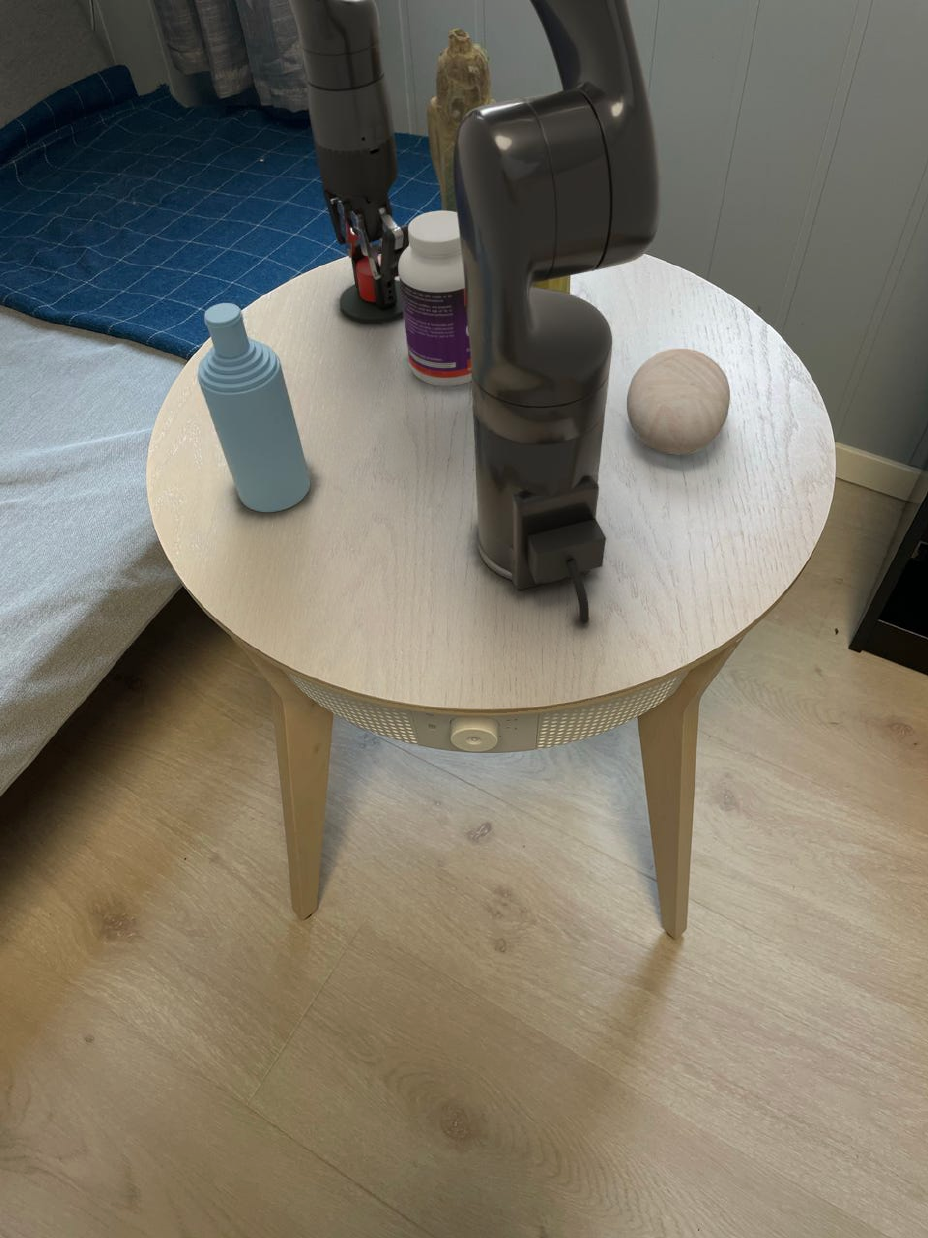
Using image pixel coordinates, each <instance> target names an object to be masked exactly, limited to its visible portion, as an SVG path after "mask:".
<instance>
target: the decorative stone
mask: <svg viewBox="0 0 928 1238" xmlns="http://www.w3.org/2000/svg"><path fill="white" fill-rule="evenodd" d="M730 391H731V390H730V384H729V380H728V378H727V375H726V373H725V371H724V370H723V369H722V367H721V366H720V364H718V362H717V361H716V360H714V359H713V358H712V357H710V356H708V355H707V354H705V353H703V352H701V351H698V350H694V349H689V348H673V349H667V350H664V351H660V352H658V353H657V354H655V355H653V356H651V357H650V358H648V359H647V360H645V361H644V362H643V363H642V364H641V365H640V367H639V368H638V369H637V370H636V372H635V374H634V375H633V377H632V379H631V382H630V384H629V387H628V391H627V396H626V413H627V417H628V421H629V423H630V426H631V428H632V430H633V431H634V433H635V434H636V435H637V437H638V438H639V440H641V441H642V442H643V443H644V444H646V445H647V446H649V447H650V448H651V449H654V450H656V451H658V452H661V453H664V454H668V455H688V454H693V453H696V452H698V451H700V450H702V449H704V448H706V447H708V446H709V445H710V444H711V443H712V442H714V441H715V440H716V438H717V437H718V436H719V435H720V433H721V431H722V430H723V428H724V425H725V423H726V420H727V417H728V414H729V410H730V401H731V392H730Z"/></svg>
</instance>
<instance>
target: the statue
mask: <svg viewBox="0 0 928 1238" xmlns="http://www.w3.org/2000/svg"><path fill="white" fill-rule="evenodd" d="M447 37H448V46H447V47H446V48H445V49H444V50H442V51H441V52H440V53H439V57H438V60H437V65H436V75H435V87H436V88H435V89H436V90H435V91H436V93H435V96H434V97H432V98H431V100H430V101H429V104H428V105H427V109H426V117H427V118H426V120H427V132H428V141H429V143H428V144H429V153H430V157H431V162H432V166H433V170H434V174H435V176H436V177H435V178H436V181H437V183H438V185H439V189H438V191H439V194H440V197H441V211H453V212H457V209H456V200H455V187H454V148H455V139H456V135H457V132H458V128H459V125H460V123H461V121H462V119H463V118H464V116H465V115H466V114H467V113H468V112H469V111H471V110H472V109H474V108H476V107H479V106H482V105H487V104H491V103H496V102H497V101H496V100H495V99H493V98H492V97H491V96H492V90H491V73H490V72H491V71H490V69H489V61H490V54H489V51H488V50H487V49H486V48H485V46H484V44H483V43H473V41H472V38H471V36H470V35H469V33H468V32H467V31H466V30H463V27H459V28H454V29H452V30H449V31H448V33H447Z"/></svg>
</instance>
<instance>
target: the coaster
mask: <svg viewBox="0 0 928 1238" xmlns="http://www.w3.org/2000/svg"><path fill="white" fill-rule="evenodd" d="M395 286H396V294H397V303H396V305H395V306H392V307H390V308H387V309H385V310H381V309H379V308H378V307H377V305H376V302H369V301H366V300H364V299H363V298H362V297H361V296H360V293H359V290H358V289H357V288H356V287H355V283H354V284H352V285H350V286H349V287H348V288H346V289H345V290H344V291H343V292H342V294H341V296H340V299H339V306H340V310H341V312H342V314H343V315H344V316H345V317H346V318H347V319H349V320H351V321H353V322H356V323H360V324H365V325H379V324H386V323H389V322H392V321H395V320H398V319H400V318H402V317H404V314H403V305H402V297H401V288H400V280H397V279H395Z"/></svg>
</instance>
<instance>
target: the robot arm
mask: <svg viewBox="0 0 928 1238" xmlns="http://www.w3.org/2000/svg"><path fill="white" fill-rule="evenodd" d="M529 2H530V3H531V5H532V7H533V9H534V11H535V13H536V15H537V17H538V19H539V21H540V24H541V26H542V28H543V31H544V33H545V36H546V38H547V41H548V44H549V47H550V50H551V54H552V56H553V59H554V63H555V65H556V69H557V73H558V76H559V81H560V83H561V88H562V90H558V91H553V92H547V93H541V94H536V95H531V96H524V97H520V98H512V99H507V100H502V101H496V103H491V104H487V105H482V106H479V107H476V108H474V109H472V110H471V111H469V112H468V113H467V114H466V115H465V116H464V118H463V119H462V121H461V123H460V125H459V128H458V132H457V135H456V139H455V148H454V187H455V200H456V209H457V218H458V226H459V235H460V243H461V252H462V262H463V273H464V286H465V302H466V315H467V324H468V333H469V344H470V359H471V380H472V381H471V397H472V399H471V400H472V424H473V443H474V444H473V446H474V465H475V485H476V487H475V489H476V509H477V524H478V525H477V526H478V528H477V546H478V551H479V554H480V556H481V558H482V560H483V561H484V562H485V564H486V565H487V566H488V567H489V568H490V569H491V570H492V571H494V572H495V574H498V575H499V576H502V577H503V578H505V579H508V580H510V581H511V582H512V583H513V584H514V587H515V588H516V590H519V591H523V590H525V589H531V588H534V587H537V586H541V585H546V584H550V583H555V582H559V581H561V580H565V579H569V578H570V579H571V581H572V584H573V587H574V592H575V594H576V598H577V602H578V609H579V622H580V623H581V624H587V623H588V622H589V621H590V617H589V614H590V613H589V611H590V610H589V600H588V595H587V591H586V587H585V585H584V581H583V579H582V576H581V575H584V574H588V573H589V572H590V571H591V570H595V569H599V568H603V565H604V558H605V550H606V549H605V547H606V540H607V537H606V535H605V533H604V532H603V530H602V528H601V526H600V524H599V522H598V521H597V519H596V518H597V510H598V501H599V490H600V485H599V474H600V466H601V465H600V464H601V457H602V448H603V447H602V446H603V437H604V428H605V427H604V426H605V418H606V409H607V401H608V391H609V382H610V372H611V364H612V354H613V333H612V331H611V330H612V329H611V326H610V323H609V321H608V320H607V318H606V316H605V315H604V314H603V313H602V312H601V311H600V310H599V309H598V308H597V307H595V306H594V305H593V304H592V303H590V302H588V301H587V300H585V299H583V298H581V297H579V296H577V295H574V294H571V293H570V294H568V293H565V292H561V291H557V290H552V289H546V288H541V287H536V286H532V284H533V283H536V282H541V281H546V280H550V279H555V278H560V277H565V276H570V275H571V276H574V275H580V274H584V273H589V272H593V271H596V270H602V269H607V268H612V267H616V266H620V265H624V264H628V263H631V262H633V261H636V260H638V259H640V258H641V257H643V255H645V254H646V253H647V251H649V249H650V247H651V245H652V243H653V242H654V239H655V237H656V234H657V232H658V227H659V223H660V215H661V206H662V205H661V204H662V176H661V165H660V157H659V146H658V139H657V133H656V127H655V123H654V122H655V121H654V118H653V117H654V116H653V112H652V106H651V102H650V96H649V92H648V87H647V82H646V78H645V73H644V68H643V64H642V59H641V55H640V51H639V46H638V41H637V35H636V32H635V27H634V22H633V18H632V13H631V9H630V6H629V5H630V4H629V0H529ZM287 3H288V5H289V8H290V11H291V15H292V17H293V20H294V23H295V27H296V30H297V35H298V41H299V47H300V52H301V58H302V62H303V63H302V64H303V69H304V76H305V80H306V93H307V108H308V115H309V121H310V126H311V130H312V137H313V143H314V149H315V154H316V160H317V166H318V172H319V177H320V182H321V184H322V186H321V191H322V193H323V198H324V201H325V204H326V207H327V210H328V211H327V212H328V215H329V216H330V220H331V224H332V227H333V230H334V234H335V237H336V240H337V243H338V245H340V246H343V245H345V253H346V255H347V257H348V258H350V262H351V269H352V275H353V280H354V281H353V282H354V284H355V287H356V288H357V289H358V290H359V286H358V279H357V273H356V264H357V263H358V262H359V261H360V260H361V259H363V258H365V257H368V259H369V263H370V267H371V271H372V275H373V277H372V278H373V285H374V292H375V299H376V305H377V307H378V308H379V309H381V310H385V309H387V308H390V307H392V306H395V305H396V303H397V294H396V286H395V280H396V279H395V278H398V277H399V271H398V264H399V259H400V257H401V255H402V253H403V252H404V250H405V249H406V248H407V247H408V246H409V245H410V243H409V236H408V226H409V225H407V224H402V225H400V226H399V225H398V224H397V223H396V221H395V220H394V219H393V217H394V214H393V208H392V205H391V202H390V197H389V191H390V190H391V188H392V186H393V185H394V184H395V183H396V181H397V179H398V177H399V165H398V155H397V145H396V144H397V143H396V135H395V129H394V117H393V116H394V115H393V108H392V107H393V106H392V99H391V94H390V89H389V84H388V80H387V74H386V67H385V59H384V50H383V41H382V39H383V38H382V32H381V31H382V29H381V21H380V16H379V10H378V6H377V3H376V1H375V0H287ZM377 241H379V242H377ZM375 242H377V243H375ZM372 243H375V244H372ZM378 256H381V262H380V265H379V262H378V258H377V257H378Z"/></svg>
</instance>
